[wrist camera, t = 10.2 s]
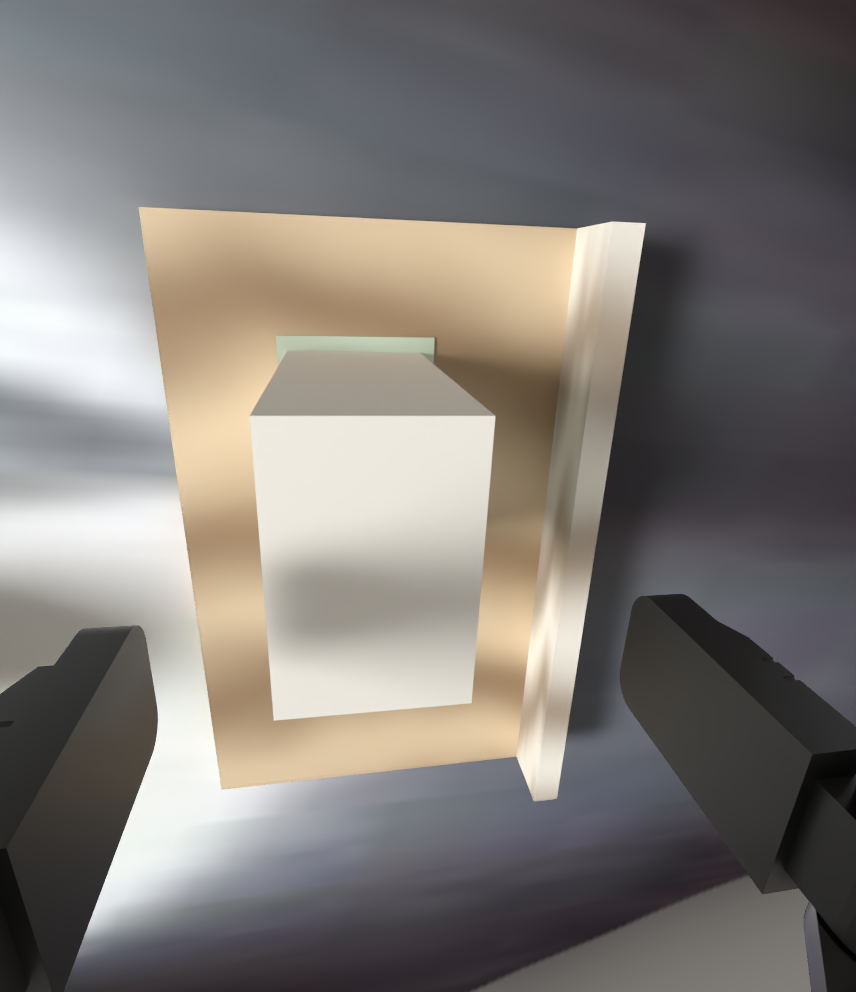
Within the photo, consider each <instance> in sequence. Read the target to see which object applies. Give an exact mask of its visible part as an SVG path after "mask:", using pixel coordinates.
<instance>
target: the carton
mask: <svg viewBox="0 0 856 992" xmlns="http://www.w3.org/2000/svg"><path fill="white" fill-rule="evenodd" d="M250 428H251V441H252V453H253V466H254V478H255V491H256V504H257V516H258V529H259V541H260V554H261V567H262V579H263V592H264V604H265V617H266V630H267V642H268V655H269V667H270V680H271V692H272V705H273V718H274V721H275V720H287V719H298V718H310V717H321V716H332V715H344V714H355V713H367V712H378V711H389V710H401V709H412V708H423V707H435V706H446V705H458V704H469V703H472V692H473V680H474V668H475V656H476V644H477V632H478V620H479V608H480V596H481V584H482V572H483V560H484V548H485V536H486V524H487V512H488V500H489V488H490V476H491V464H492V452H493V440H494V428H495V415H494V414H493V413H491V412H490V411H489V410H488V409H487V408H485V407H484V406H483V405H482V404H481V403H479V402H478V401H477V400H476V399H475V398H473V397H472V396H471V395H470V394H469V393H468V392H466V391H465V390H464V389H463V388H462V387H460V386H459V385H458V384H457V383H456V382H454V381H453V380H452V379H451V378H450V377H448V376H447V375H446V374H445V373H444V372H442V371H441V370H440V369H439V368H438V367H436V366H435V365H434V364H433V363H432V362H430V361H429V360H428V359H427V358H426V357H424V356H423V355H422V354H421V353H406V352H355V351H303V350H288V351H287V352H286V354H285V356H284V357H283V359H282V361H281V363H280V364H279V366H278V368H277V369H276V371H275V373H274V375H273V376H272V378H271V380H270V382H269V383H268V385H267V387H266V388H265V390H264V392H263V394H262V395H261V397H260V399H259V400H258V402H257V404H256V406H255V407H254V409H253V411H252V412H251V414H250Z"/></svg>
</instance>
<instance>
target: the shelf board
mask: <svg viewBox="0 0 856 992" xmlns="http://www.w3.org/2000/svg"><path fill="white" fill-rule="evenodd" d="M139 213H140V220H141V227H142V234H143V241H144V248H145V255H146V263H147V270H148V277H149V284H150V291H151V298H152V305H153V312H154V319H155V326H156V333H157V340H158V347H159V354H160V361H161V368H162V375H163V382H164V389H165V396H166V403H167V410H168V417H169V424H170V431H171V438H172V445H173V452H174V459H175V466H176V473H177V480H178V487H179V494H180V501H181V508H182V515H183V522H184V529H185V536H186V543H187V550H188V557H189V564H190V571H191V578H192V585H193V592H194V599H195V606H196V613H197V620H198V627H199V634H200V641H201V648H202V655H203V662H204V669H205V676H206V683H207V690H208V697H209V704H210V711H211V718H212V725H213V732H214V739H215V746H216V753H217V760H218V767H219V775H220V782H221V789H231V788H240V787H248V786H257V785H266V784H275V783H284V782H293V781H302V780H311V779H320V778H328V777H337V776H346V775H355V774H364V773H373V772H382V771H391V770H400V769H409V768H417V767H426V766H435V765H444V764H453V763H462V762H471V761H480V760H489V759H497V758H506V757H515V756H517V759H518V761H519V764H520V766H521V769H522V772H523V774H524V777H525V779H526V782H527V784H528V787H529V789H530V792H531V795H532V797H533V800H534V801H542V800H550V799H557V794H558V787H559V781H560V774H561V768H562V761H563V755H564V748H565V742H566V735H567V729H568V722H569V716H570V710H571V703H572V697H573V690H574V684H575V677H576V671H577V664H578V658H579V651H580V645H581V638H582V632H583V626H584V619H585V613H586V606H587V600H588V593H589V587H590V580H591V574H592V567H593V561H594V554H595V548H596V542H597V535H598V529H599V522H600V516H601V509H602V503H603V496H604V490H605V483H606V477H607V470H608V464H609V458H610V451H611V445H612V438H613V432H614V425H615V419H616V412H617V406H618V399H619V393H620V387H621V380H622V374H623V367H624V361H625V354H626V348H627V341H628V335H629V328H630V322H631V315H632V309H633V303H634V296H635V290H636V283H637V277H638V270H639V264H640V257H641V251H642V244H643V238H644V231H645V225H646V223H629V222H608V223H603V224H598V225H593V226H588V227H583V228H578V229H574V228H553V227H533V226H513V225H492V224H472V223H452V222H431V221H411V220H391V219H371V218H350V217H330V216H310V215H289V214H269V213H249V212H228V211H208V210H188V209H167V208H147V207H139ZM288 350H303V351H355V352H406V353H421V354H422V355H423V356H424V357H426V358H427V359H428V360H429V361H430V362H432V363H433V364H434V365H435V366H436V367H438V368H439V369H440V370H441V371H442V372H444V373H445V374H446V375H447V376H448V377H450V378H451V379H452V380H453V381H454V382H456V383H457V384H458V385H459V386H460V387H462V388H463V389H464V390H465V391H466V392H468V393H469V394H470V395H471V396H472V397H473V398H475V399H476V400H477V401H478V402H479V403H481V404H482V405H483V406H484V407H485V408H487V409H488V410H489V411H490V412H491V413H493V414H494V415H495V428H494V440H493V452H492V464H491V476H490V488H489V500H488V512H487V524H486V536H485V548H484V560H483V572H482V584H481V596H480V608H479V620H478V632H477V644H476V656H475V668H474V680H473V692H472V703H469V704H458V705H446V706H435V707H423V708H412V709H401V710H389V711H378V712H367V713H355V714H344V715H332V716H321V717H310V718H298V719H287V720H275V721H274V718H273V705H272V692H271V680H270V667H269V655H268V642H267V630H266V617H265V604H264V592H263V579H262V567H261V554H260V541H259V529H258V516H257V504H256V491H255V478H254V466H253V453H252V441H251V428H250V414H251V412H252V411H253V409H254V407H255V406H256V404H257V402H258V400H259V399H260V397H261V395H262V394H263V392H264V390H265V388H266V387H267V385H268V383H269V382H270V380H271V378H272V376H273V375H274V373H275V371H276V369H277V368H278V366H279V364H280V363H281V361H282V359H283V357H284V356H285V354H286V352H287V351H288Z"/></svg>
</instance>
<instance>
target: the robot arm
mask: <svg viewBox="0 0 856 992" xmlns="http://www.w3.org/2000/svg"><path fill="white" fill-rule="evenodd" d="M620 684H621V690H622V693H623V697H624V699H625V702H626V704H627V706H628V707H629V709H630V711H631V712H632V713H633V715H634V716H635V717H636V719H637V720H638V722H639V723H640V724H641V726H642V727H643V729H644V730H645V731H646V733H647V734H648V736H649V737H650V738H651V740H652V741H653V743H654V744H655V745H656V747H657V748H658V749H659V751H660V752H661V754H662V755H663V756H664V758H665V759H666V761H667V762H668V763H669V765H670V766H671V768H672V769H673V770H674V772H675V773H676V775H677V776H678V777H679V779H680V780H681V782H682V783H683V784H684V786H685V787H686V788H687V790H688V791H689V793H690V794H691V795H692V797H693V798H694V800H695V801H696V802H697V804H698V805H699V807H700V808H701V809H702V811H703V812H704V814H705V815H706V816H707V818H708V819H709V820H710V822H711V823H712V825H713V826H714V827H715V829H716V830H717V832H718V833H719V834H720V836H721V837H722V839H723V840H724V841H725V843H726V844H727V846H728V847H729V848H730V850H731V851H732V852H733V854H734V855H735V857H736V858H737V859H738V861H739V862H740V864H741V865H742V866H743V868H744V869H745V871H746V872H747V873H748V875H749V876H750V878H751V879H752V880H753V882H754V883H755V884H756V886H757V887H758V889H759V890H760V891H761V893H762V894H767V893H773V892H779V891H785V890H791V889H797V888H799V889H800V890H801V891H802V893H803V894H804V895H805V897H806V898H807V899H808V900H809V903H808V906H807V908H806V911H805V914H804V932H805V940H806V949H807V958H808V966H809V975H810V985H811V992H856V726H854V725H853V724H852V723H851V722H850V721H848V720H847V719H846V718H845V717H843V716H842V715H841V714H840V713H839V712H837V711H836V710H835V709H834V708H833V707H831V706H830V705H829V704H828V703H827V702H825V701H824V700H823V699H822V698H821V697H819V696H818V695H817V694H816V693H815V692H813V691H812V690H811V689H810V688H809V687H807V686H806V685H805V684H804V683H803V682H801V681H800V680H795V679H794V675H793V674H792V673H790V672H789V671H788V670H787V669H786V668H784V667H783V666H782V665H781V664H780V663H778V662H775V663H774V661H773V658H772V657H771V656H770V655H769V654H768V653H766V652H765V651H764V650H763V649H762V648H760V647H759V646H758V645H757V644H756V643H754V642H753V641H752V640H751V639H749V638H748V637H747V636H745V635H743V634H741V633H739V632H737V631H735V630H733V629H731V628H729V627H727V626H726V625H724V624H722V623H720V622H718V621H716V620H715V619H714V618H713V617H712V616H711V615H709V614H708V613H707V612H706V611H705V610H704V609H702V608H701V607H700V606H699V605H698V604H696V603H695V602H694V601H693V600H692V599H691V598H689V597H688V596H686V595H684V594H671V595H655V596H641V597H639V598H637V599H636V601H635V602H634V604H633V606H632V610H631V616H630V621H629V626H628V631H627V637H626V642H625V647H624V653H623V658H622V663H621V669H620ZM157 724H158V713H157V704H156V698H155V692H154V686H153V680H152V674H151V668H150V662H149V656H148V650H147V644H146V638H145V634H144V632H143V630H142V628H141V627H140V626H120V627H104V628H87V629H82V630H81V631H79V632H78V633H77V635H76V636H75V637H74V639H73V640H72V641H71V643H70V644H69V646H68V647H67V648H66V650H65V651H64V653H63V654H62V655H61V657H60V658H59V659H58V661H57V662H56V664H55V665H54V666H43V667H37V668H36V669H34V670H33V671H32V672H30V673H29V674H27V675H26V676H25V677H23V678H22V679H20V680H19V681H18V682H16V683H15V684H14V685H12V686H11V687H9V688H8V689H7V690H5V691H4V692H2V693H1V694H0V992H63V991H64V988H65V986H66V983H67V980H68V978H69V975H70V972H71V970H72V967H73V964H74V962H75V959H76V956H77V954H78V951H79V948H80V946H81V943H82V940H83V938H84V935H85V932H86V930H87V927H88V924H89V922H90V919H91V916H92V914H93V911H94V908H95V906H96V903H97V900H98V898H99V895H100V892H101V890H102V887H103V884H104V882H105V879H106V876H107V874H108V871H109V868H110V866H111V863H112V860H113V857H114V855H115V852H116V849H117V847H118V844H119V841H120V839H121V836H122V833H123V831H124V828H125V825H126V823H127V820H128V817H129V815H130V812H131V809H132V807H133V804H134V801H135V799H136V796H137V793H138V791H139V788H140V785H141V783H142V780H143V777H144V775H145V772H146V769H147V767H148V764H149V761H150V759H151V756H152V753H153V750H154V746H155V741H156V735H157Z"/></svg>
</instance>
